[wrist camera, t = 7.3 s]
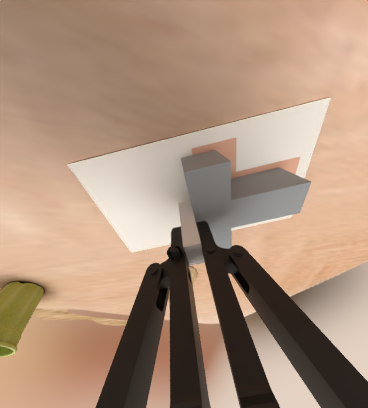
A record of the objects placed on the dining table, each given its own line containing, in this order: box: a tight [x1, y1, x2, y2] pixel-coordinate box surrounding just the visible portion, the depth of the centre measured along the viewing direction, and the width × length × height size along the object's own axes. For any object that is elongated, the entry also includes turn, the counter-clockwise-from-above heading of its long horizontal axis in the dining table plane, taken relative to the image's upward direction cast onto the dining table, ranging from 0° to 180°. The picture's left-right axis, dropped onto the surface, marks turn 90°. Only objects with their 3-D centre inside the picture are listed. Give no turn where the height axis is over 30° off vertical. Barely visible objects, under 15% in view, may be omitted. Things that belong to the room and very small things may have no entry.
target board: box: [67, 97, 331, 253], centre depth 18 cm, size 16×28×1 cm, turn 102°
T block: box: [181, 150, 311, 249], centre depth 16 cm, size 12×12×4 cm
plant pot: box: [0, 282, 44, 357], centre depth 23 cm, size 9×9×9 cm
